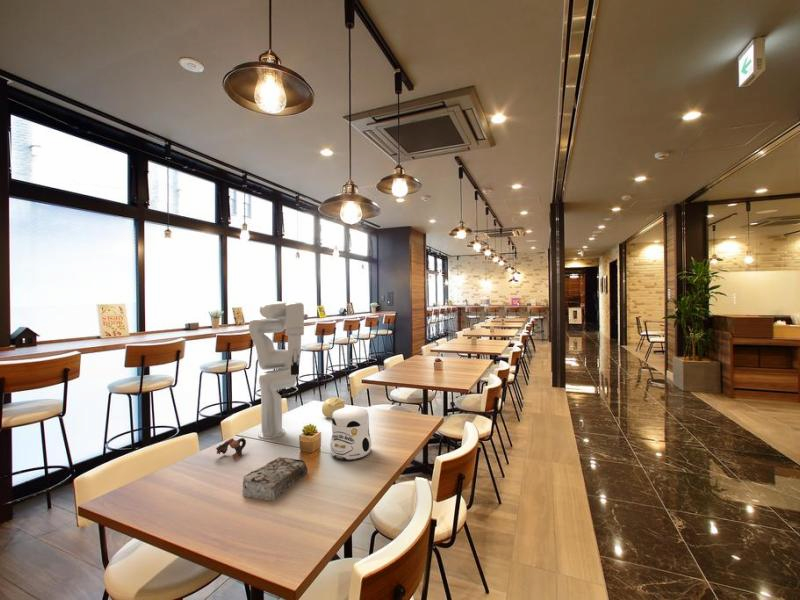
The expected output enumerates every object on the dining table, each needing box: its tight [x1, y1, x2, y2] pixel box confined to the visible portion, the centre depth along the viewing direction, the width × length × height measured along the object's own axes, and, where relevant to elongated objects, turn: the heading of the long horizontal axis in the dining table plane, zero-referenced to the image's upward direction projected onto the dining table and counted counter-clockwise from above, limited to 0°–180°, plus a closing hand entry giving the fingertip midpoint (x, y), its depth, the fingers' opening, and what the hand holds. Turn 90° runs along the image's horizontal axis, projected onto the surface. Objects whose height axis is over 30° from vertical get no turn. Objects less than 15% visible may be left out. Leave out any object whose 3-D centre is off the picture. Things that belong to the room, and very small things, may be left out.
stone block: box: [241, 456, 308, 501], centre depth 124 cm, size 13×7×20 cm
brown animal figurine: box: [215, 437, 247, 460], centre depth 149 cm, size 12×9×8 cm
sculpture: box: [321, 396, 346, 419], centre depth 197 cm, size 11×12×11 cm
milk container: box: [329, 406, 372, 462], centre depth 148 cm, size 17×17×18 cm
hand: (294, 374), depth 149 cm, fingers closed
